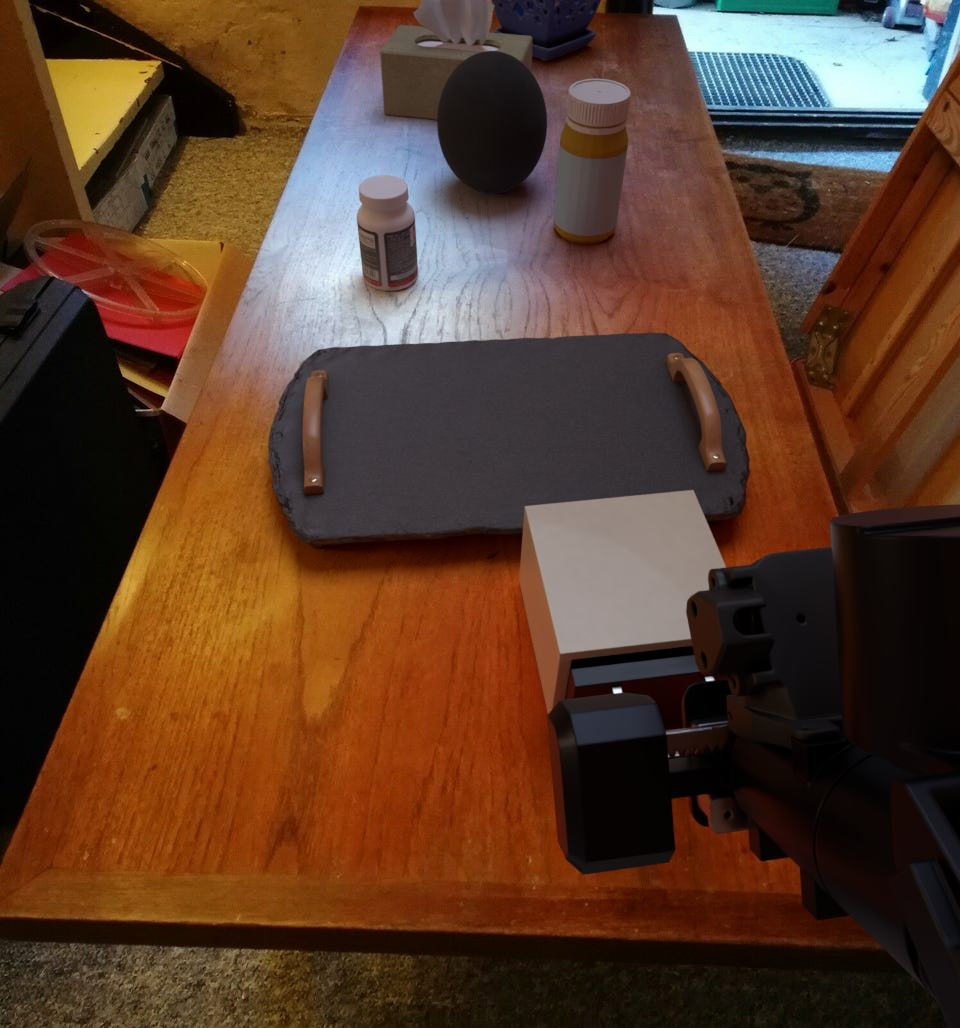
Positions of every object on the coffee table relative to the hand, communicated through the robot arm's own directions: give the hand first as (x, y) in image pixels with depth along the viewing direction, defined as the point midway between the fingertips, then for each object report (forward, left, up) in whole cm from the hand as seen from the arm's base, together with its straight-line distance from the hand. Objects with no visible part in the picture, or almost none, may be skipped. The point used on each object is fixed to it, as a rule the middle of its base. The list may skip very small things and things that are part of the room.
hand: (710, 699), depth 42 cm
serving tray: (+32, -1, -13) cm, 35 cm away
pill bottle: (+60, +2, -13) cm, 61 cm away
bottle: (+63, -21, -13) cm, 68 cm away
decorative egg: (+75, -14, -13) cm, 78 cm away
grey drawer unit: (+12, -2, -13) cm, 18 cm away
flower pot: (+115, -36, -13) cm, 121 cm away
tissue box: (+98, -17, -13) cm, 100 cm away
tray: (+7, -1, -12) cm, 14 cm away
